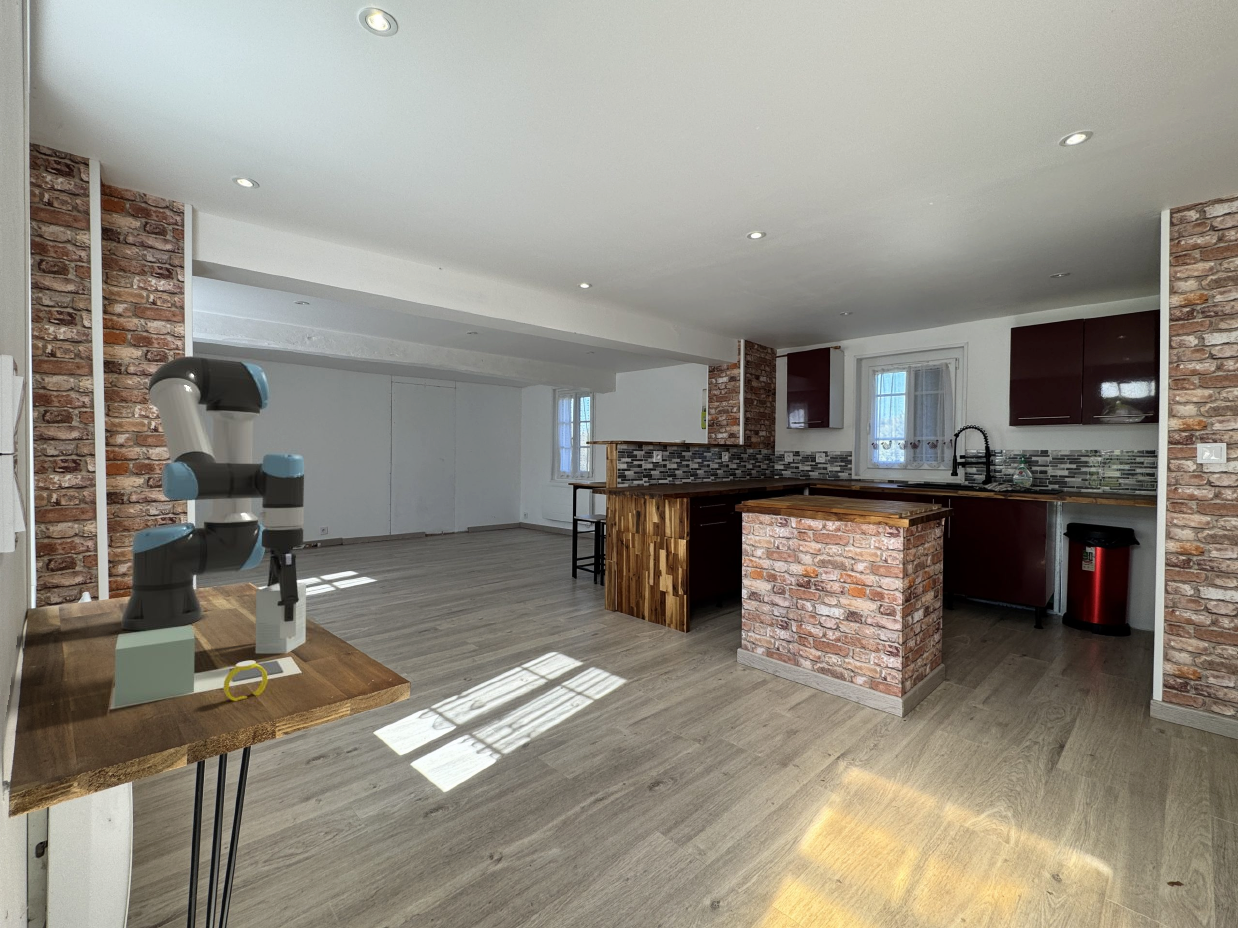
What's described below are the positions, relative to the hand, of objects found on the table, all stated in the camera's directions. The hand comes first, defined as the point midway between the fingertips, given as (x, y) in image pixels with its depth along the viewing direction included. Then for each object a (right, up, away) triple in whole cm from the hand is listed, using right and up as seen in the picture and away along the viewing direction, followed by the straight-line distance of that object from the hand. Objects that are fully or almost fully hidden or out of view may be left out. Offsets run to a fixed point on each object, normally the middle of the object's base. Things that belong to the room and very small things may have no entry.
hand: (281, 629), depth 120 cm
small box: (0, -4, 0) cm, 4 cm away
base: (-2, -4, -18) cm, 19 cm away
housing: (-8, -3, -23) cm, 25 cm away
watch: (+9, -4, -25) cm, 27 cm away
